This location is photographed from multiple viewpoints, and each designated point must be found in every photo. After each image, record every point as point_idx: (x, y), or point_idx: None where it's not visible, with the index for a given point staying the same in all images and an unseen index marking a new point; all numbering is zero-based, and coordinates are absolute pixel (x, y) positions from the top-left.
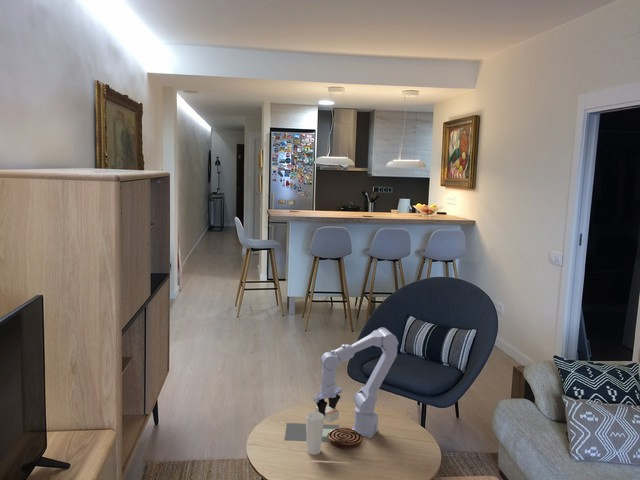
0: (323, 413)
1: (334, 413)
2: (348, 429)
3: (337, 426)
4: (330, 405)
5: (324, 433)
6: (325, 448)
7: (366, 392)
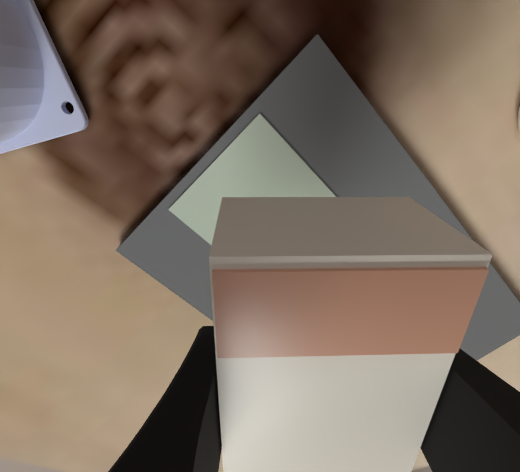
0: (479, 364)
1: (357, 250)
2: (77, 164)
3: (139, 241)
4: (214, 463)
5: None
6: (459, 75)
7: None
